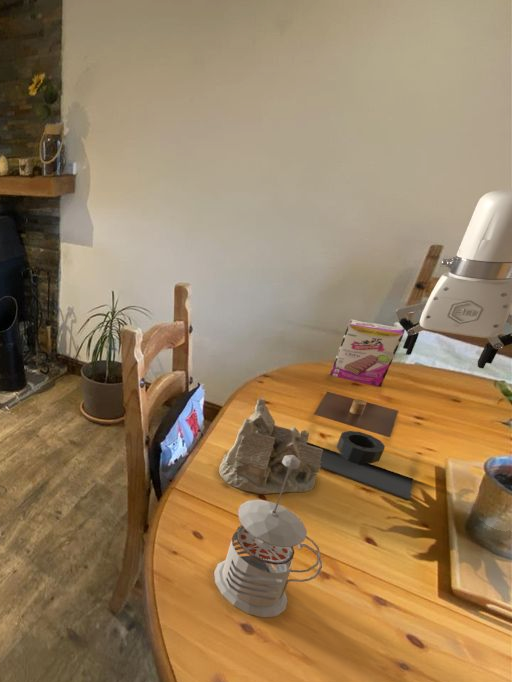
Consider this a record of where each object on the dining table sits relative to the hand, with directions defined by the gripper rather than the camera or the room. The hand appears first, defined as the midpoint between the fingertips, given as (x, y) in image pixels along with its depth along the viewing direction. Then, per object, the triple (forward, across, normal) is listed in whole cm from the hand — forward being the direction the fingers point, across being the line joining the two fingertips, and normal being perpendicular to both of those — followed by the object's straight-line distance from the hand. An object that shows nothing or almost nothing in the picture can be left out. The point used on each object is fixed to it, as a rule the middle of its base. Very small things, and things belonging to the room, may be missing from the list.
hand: (442, 358), depth 78 cm
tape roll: (+21, -7, -8) cm, 24 cm away
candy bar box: (+22, -12, +29) cm, 38 cm away
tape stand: (+22, -9, +9) cm, 25 cm away
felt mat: (+22, -7, -8) cm, 24 cm away
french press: (+21, -12, -54) cm, 59 cm away
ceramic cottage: (+21, -19, -26) cm, 38 cm away
